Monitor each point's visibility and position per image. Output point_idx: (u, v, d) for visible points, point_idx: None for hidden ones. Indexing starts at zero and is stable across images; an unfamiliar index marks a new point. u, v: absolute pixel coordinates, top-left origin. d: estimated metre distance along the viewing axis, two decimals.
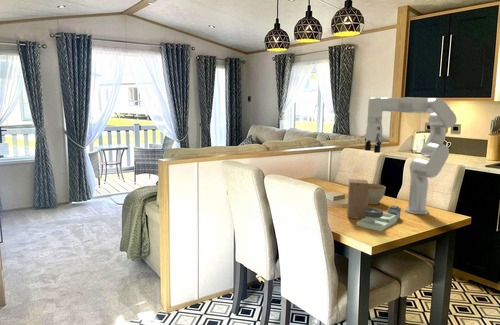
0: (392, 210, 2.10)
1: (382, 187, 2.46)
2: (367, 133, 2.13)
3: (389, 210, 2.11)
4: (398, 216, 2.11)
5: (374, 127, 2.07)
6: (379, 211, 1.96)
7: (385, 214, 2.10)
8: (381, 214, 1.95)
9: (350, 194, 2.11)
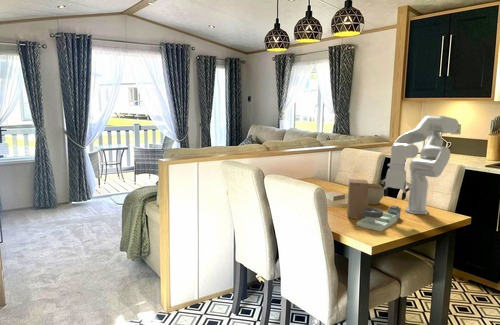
0: (392, 210, 2.10)
1: (382, 187, 2.46)
2: None
3: (389, 210, 2.11)
4: (398, 216, 2.11)
5: None
6: (379, 211, 1.96)
7: (385, 214, 2.10)
8: (381, 214, 1.95)
9: (350, 194, 2.11)
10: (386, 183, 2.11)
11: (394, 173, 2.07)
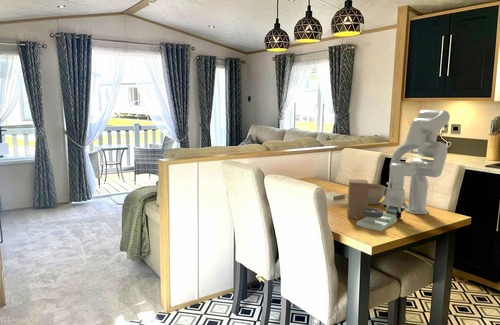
0: (392, 210, 2.10)
1: (382, 187, 2.46)
2: None
3: (389, 210, 2.11)
4: None
5: None
6: (379, 211, 1.96)
7: (385, 214, 2.10)
8: (381, 214, 1.95)
9: (350, 194, 2.11)
10: (385, 202, 2.13)
11: (393, 192, 2.09)
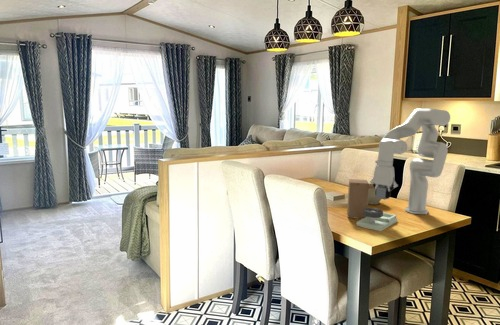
0: (381, 189, 2.02)
1: None
2: None
3: (378, 189, 2.04)
4: None
5: None
6: (379, 211, 1.96)
7: (385, 214, 2.10)
8: (381, 214, 1.95)
9: (350, 194, 2.11)
10: (374, 180, 2.05)
11: (382, 170, 2.01)
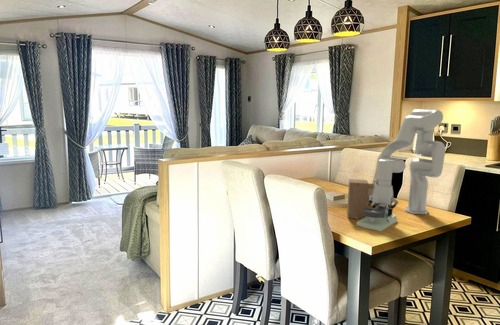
0: (380, 209, 2.04)
1: None
2: None
3: None
4: (385, 215, 2.06)
5: None
6: (379, 211, 1.96)
7: None
8: (381, 214, 1.95)
9: (350, 194, 2.11)
10: (373, 199, 2.07)
11: (381, 189, 2.03)
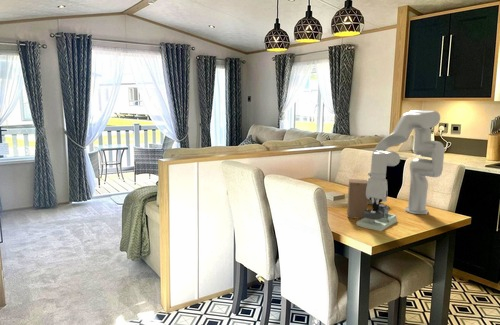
0: (380, 209, 2.04)
1: None
2: None
3: None
4: (385, 215, 2.06)
5: None
6: (379, 213, 1.96)
7: None
8: (381, 216, 1.95)
9: (350, 194, 2.11)
10: (367, 193, 2.00)
11: (375, 182, 1.96)
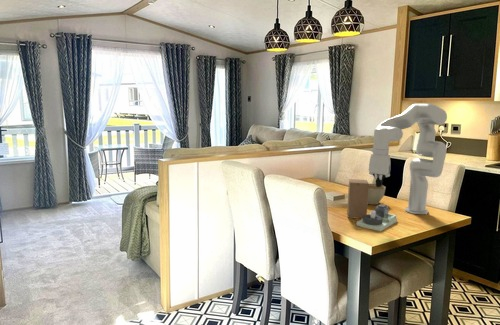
0: (380, 209, 2.04)
1: (382, 187, 2.46)
2: None
3: (377, 209, 2.06)
4: (385, 215, 2.06)
5: None
6: (378, 218, 1.97)
7: None
8: (380, 221, 1.96)
9: (350, 194, 2.11)
10: (370, 169, 2.00)
11: (378, 158, 1.96)
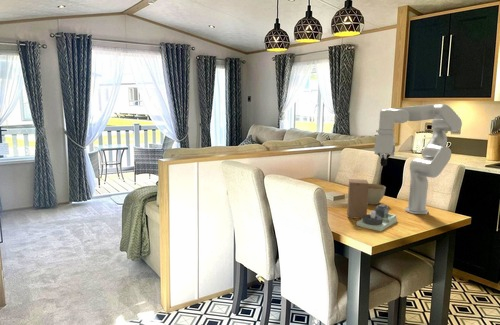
0: (380, 209, 2.04)
1: (382, 187, 2.46)
2: None
3: (377, 209, 2.06)
4: (385, 215, 2.06)
5: None
6: (378, 218, 1.97)
7: None
8: (380, 221, 1.96)
9: (350, 194, 2.11)
10: (375, 149, 2.11)
11: (383, 138, 2.07)
